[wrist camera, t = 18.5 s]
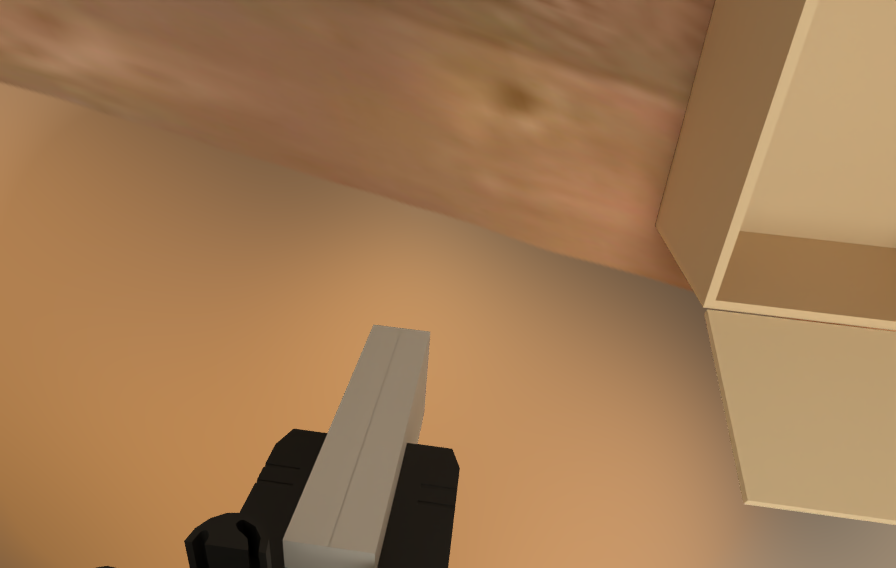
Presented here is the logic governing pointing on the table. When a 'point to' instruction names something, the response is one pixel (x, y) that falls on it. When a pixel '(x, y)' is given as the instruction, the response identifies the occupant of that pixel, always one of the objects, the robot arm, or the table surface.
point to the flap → (809, 413)
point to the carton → (790, 163)
